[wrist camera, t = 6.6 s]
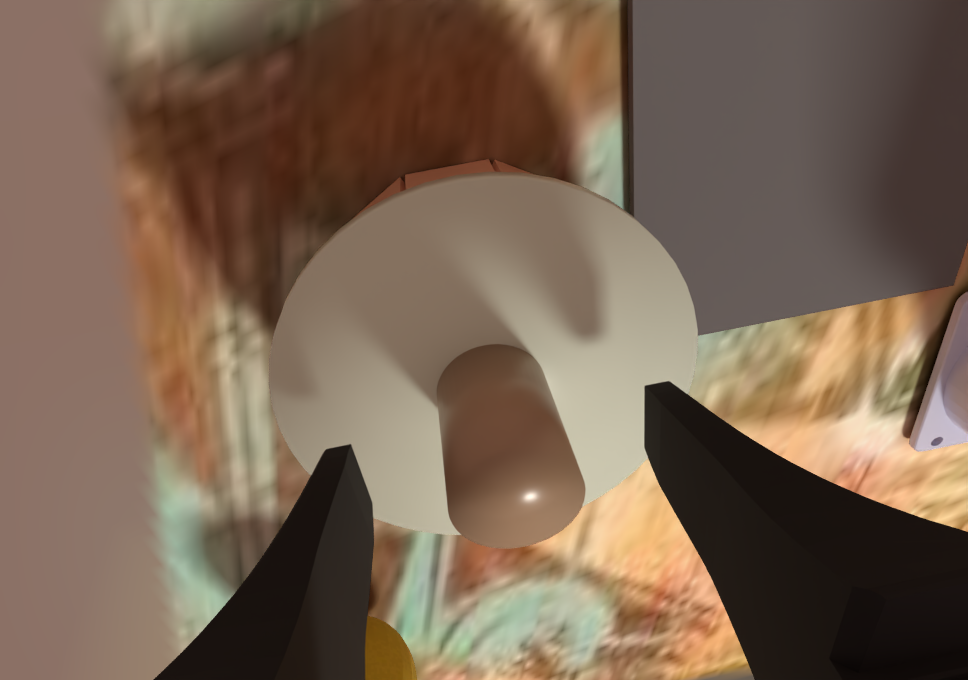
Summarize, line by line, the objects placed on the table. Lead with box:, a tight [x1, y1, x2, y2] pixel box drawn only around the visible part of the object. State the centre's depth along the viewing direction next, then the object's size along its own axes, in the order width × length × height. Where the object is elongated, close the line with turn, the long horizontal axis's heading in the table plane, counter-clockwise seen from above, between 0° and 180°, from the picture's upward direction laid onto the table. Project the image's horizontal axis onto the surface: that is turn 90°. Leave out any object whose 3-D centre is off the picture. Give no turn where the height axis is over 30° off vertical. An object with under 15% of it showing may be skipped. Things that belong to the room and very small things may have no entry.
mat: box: [628, 0, 968, 336], centre depth 18 cm, size 12×12×1 cm
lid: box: [269, 172, 698, 548], centre depth 14 cm, size 12×12×5 cm
